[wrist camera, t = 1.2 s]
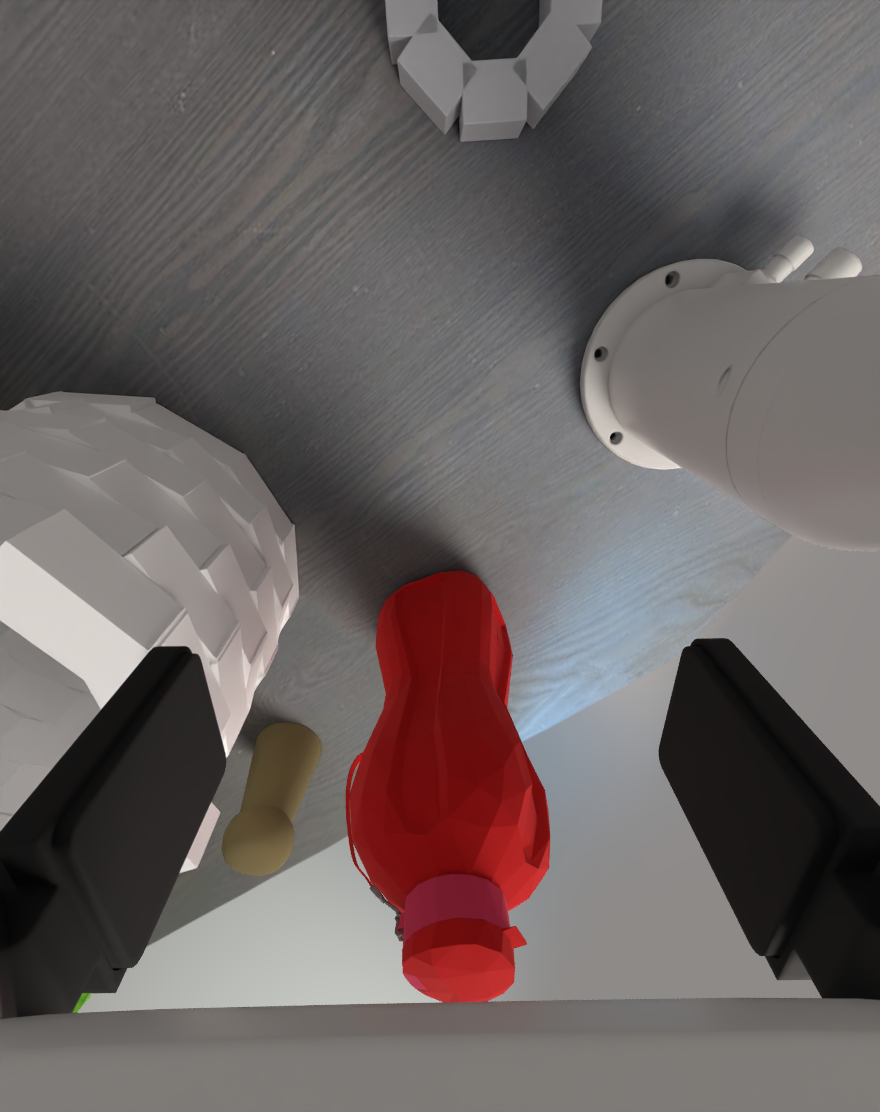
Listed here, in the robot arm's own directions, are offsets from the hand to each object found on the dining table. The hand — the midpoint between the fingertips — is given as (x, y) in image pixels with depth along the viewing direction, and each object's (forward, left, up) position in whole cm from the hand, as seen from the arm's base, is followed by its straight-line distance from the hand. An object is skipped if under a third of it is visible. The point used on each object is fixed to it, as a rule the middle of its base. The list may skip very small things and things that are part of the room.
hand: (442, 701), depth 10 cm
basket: (+22, -10, -28) cm, 36 cm away
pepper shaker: (+31, +9, -28) cm, 43 cm away
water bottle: (+12, +10, -28) cm, 32 cm away
